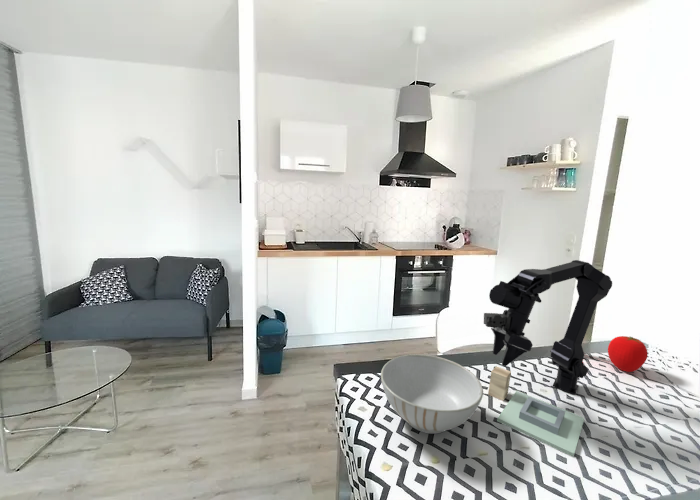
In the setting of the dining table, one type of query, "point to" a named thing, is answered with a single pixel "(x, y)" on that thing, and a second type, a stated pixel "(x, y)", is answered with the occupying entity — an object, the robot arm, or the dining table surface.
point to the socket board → (543, 422)
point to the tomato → (627, 353)
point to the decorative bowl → (431, 391)
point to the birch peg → (499, 383)
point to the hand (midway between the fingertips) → (498, 359)
